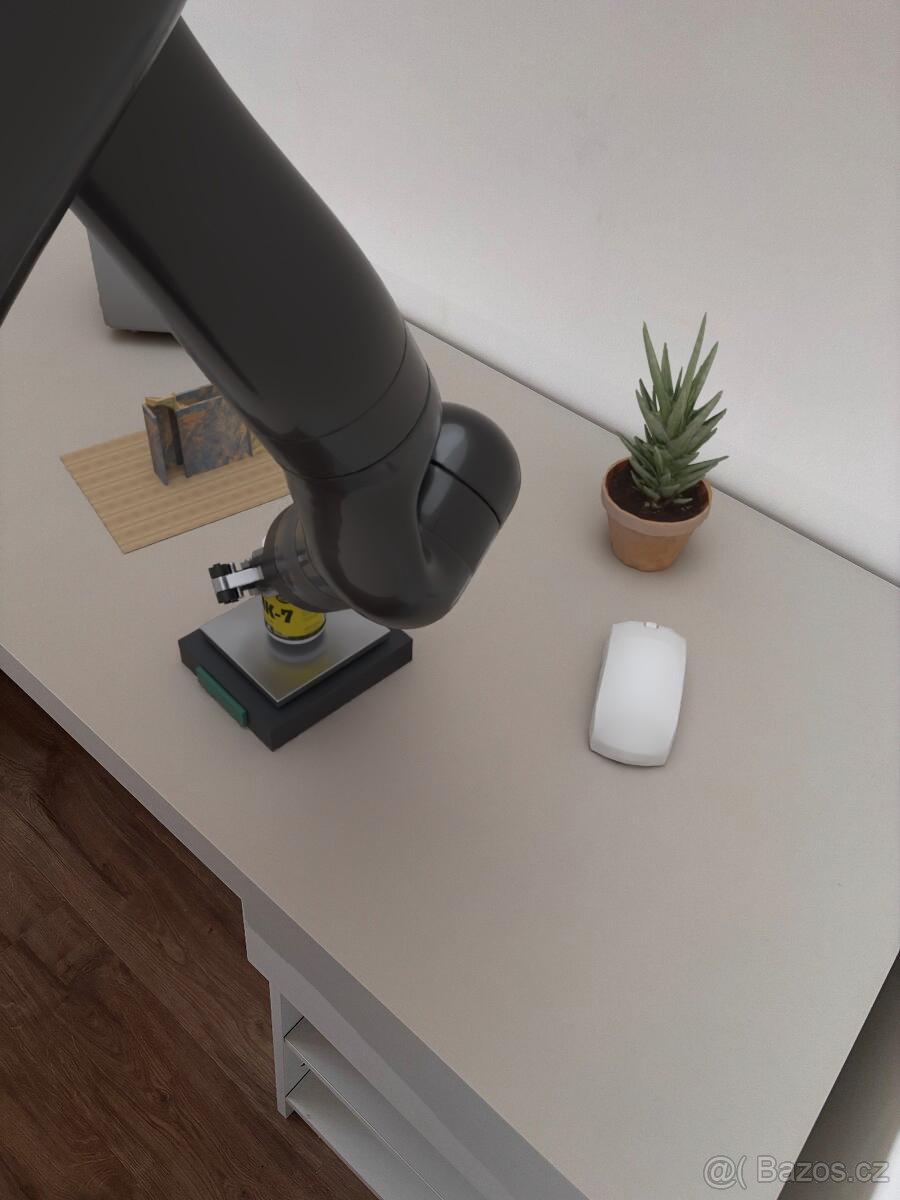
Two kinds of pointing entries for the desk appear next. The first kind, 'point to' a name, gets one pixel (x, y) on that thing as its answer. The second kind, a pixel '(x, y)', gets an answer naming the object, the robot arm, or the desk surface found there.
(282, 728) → the scale
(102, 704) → the desk surface
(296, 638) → the supplement bottle
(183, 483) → the ruin model on sheet
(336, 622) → the scale pan
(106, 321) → the alarm clock
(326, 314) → the robot arm
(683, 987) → the desk surface
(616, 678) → the computer mouse
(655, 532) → the potted plant
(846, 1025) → the desk surface
